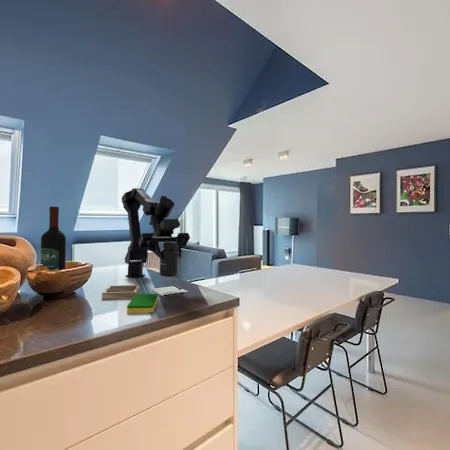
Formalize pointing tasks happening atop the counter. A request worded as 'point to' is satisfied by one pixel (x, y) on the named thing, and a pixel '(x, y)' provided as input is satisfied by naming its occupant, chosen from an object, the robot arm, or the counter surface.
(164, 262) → the supplement bottle
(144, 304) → the dish sponge
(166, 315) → the counter surface
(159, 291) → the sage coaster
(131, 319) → the counter surface
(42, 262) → the wine bottle
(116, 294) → the frame
